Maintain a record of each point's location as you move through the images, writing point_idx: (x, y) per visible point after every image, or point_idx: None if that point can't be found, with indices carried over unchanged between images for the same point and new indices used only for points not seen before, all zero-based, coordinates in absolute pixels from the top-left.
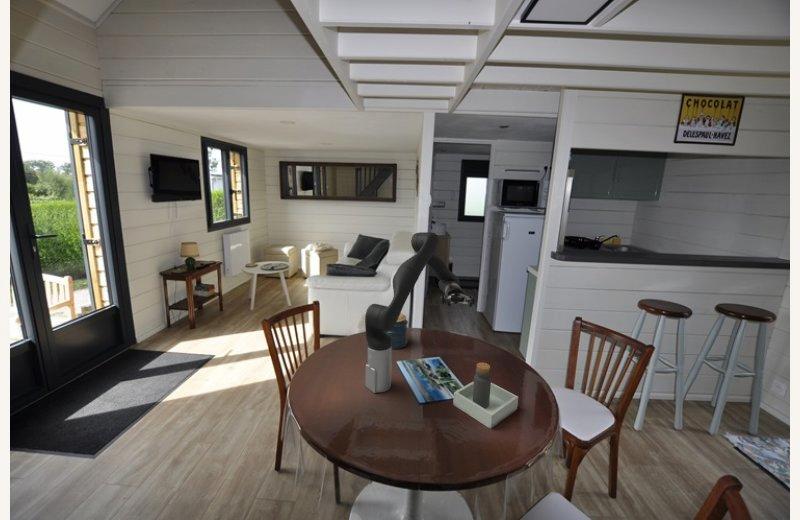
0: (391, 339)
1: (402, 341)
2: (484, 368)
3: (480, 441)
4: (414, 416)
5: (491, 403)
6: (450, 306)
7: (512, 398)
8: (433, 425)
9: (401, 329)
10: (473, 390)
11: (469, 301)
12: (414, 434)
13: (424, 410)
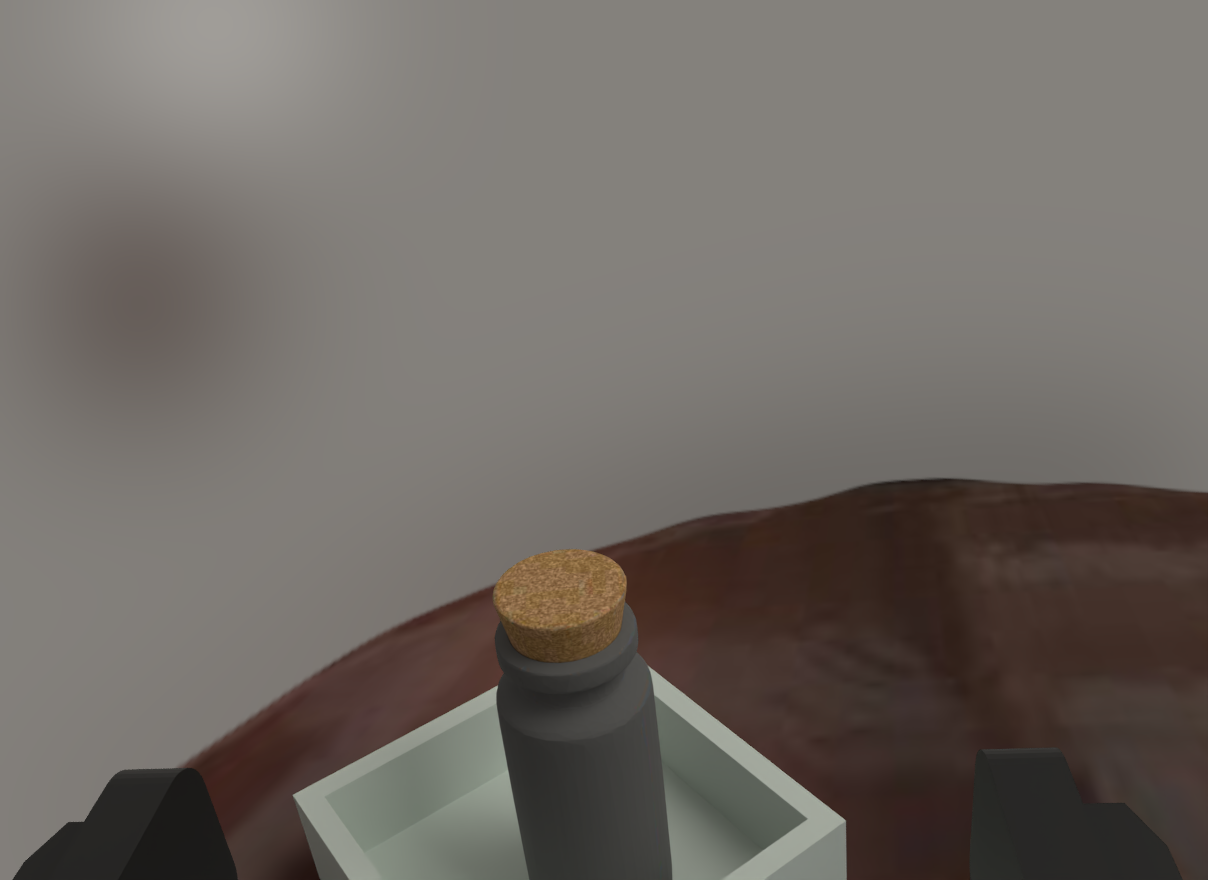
0: None
1: None
2: (567, 554)
3: (704, 637)
4: (1162, 778)
5: None
6: (976, 873)
7: (355, 776)
8: (996, 715)
9: None
10: (663, 788)
11: (137, 833)
12: (1109, 653)
13: None
